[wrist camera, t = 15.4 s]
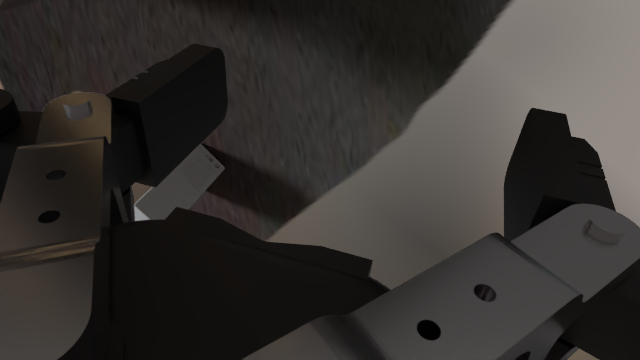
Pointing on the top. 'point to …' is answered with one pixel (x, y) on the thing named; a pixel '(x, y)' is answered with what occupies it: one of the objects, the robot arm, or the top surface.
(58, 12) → the top surface
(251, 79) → the top surface
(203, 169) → the skincare box
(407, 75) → the top surface
